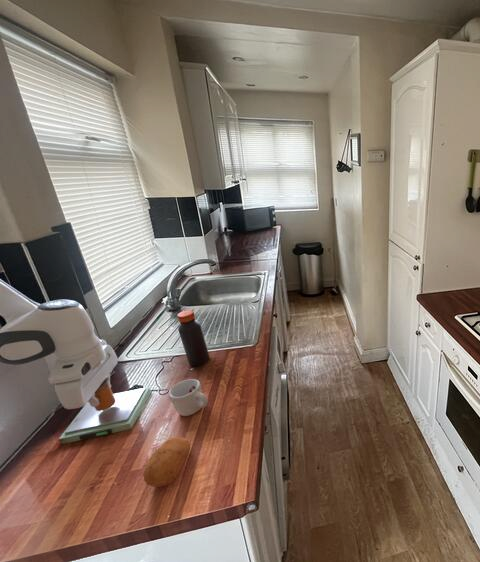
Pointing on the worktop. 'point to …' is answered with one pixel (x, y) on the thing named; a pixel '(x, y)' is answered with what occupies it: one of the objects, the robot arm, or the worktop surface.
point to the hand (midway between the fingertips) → (101, 397)
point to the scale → (107, 417)
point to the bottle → (192, 339)
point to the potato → (166, 462)
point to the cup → (187, 397)
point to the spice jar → (104, 396)
